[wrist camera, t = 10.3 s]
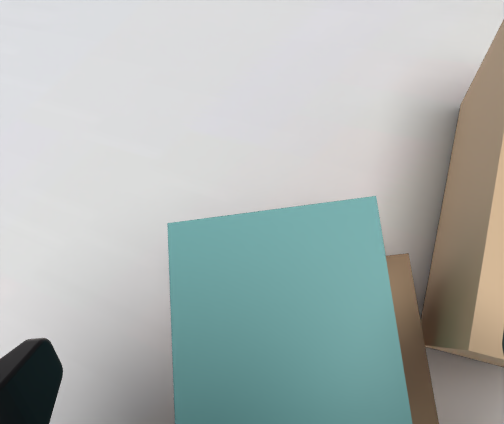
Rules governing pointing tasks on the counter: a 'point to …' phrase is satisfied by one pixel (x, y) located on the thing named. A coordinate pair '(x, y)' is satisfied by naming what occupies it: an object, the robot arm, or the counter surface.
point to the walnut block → (411, 341)
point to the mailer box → (472, 227)
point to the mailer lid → (285, 318)
